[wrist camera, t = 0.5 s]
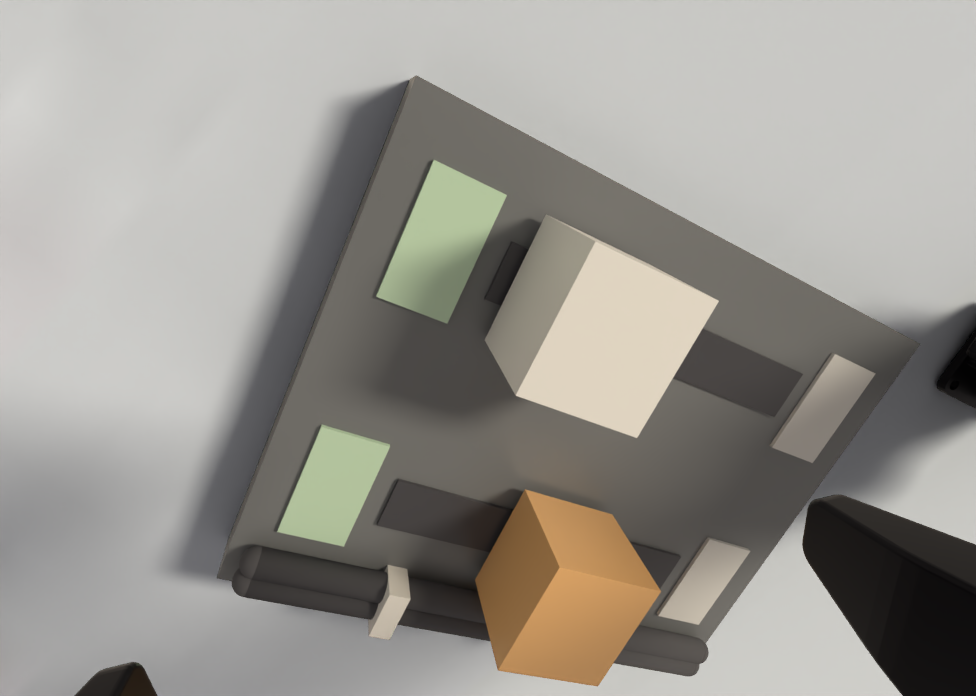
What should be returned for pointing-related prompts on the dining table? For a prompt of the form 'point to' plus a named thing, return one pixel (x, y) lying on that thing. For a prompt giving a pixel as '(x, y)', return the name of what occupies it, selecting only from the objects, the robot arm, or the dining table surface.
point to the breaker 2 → (562, 591)
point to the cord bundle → (418, 604)
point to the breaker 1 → (594, 329)
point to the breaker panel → (531, 426)
